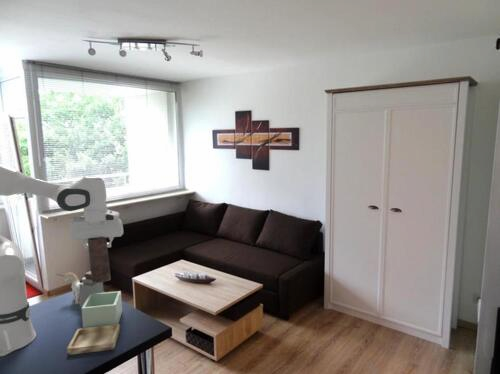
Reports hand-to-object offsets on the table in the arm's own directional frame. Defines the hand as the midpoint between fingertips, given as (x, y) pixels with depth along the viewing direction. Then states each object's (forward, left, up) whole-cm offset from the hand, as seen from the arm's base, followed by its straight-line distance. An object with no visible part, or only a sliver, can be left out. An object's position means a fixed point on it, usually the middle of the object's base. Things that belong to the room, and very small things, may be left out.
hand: (98, 247), depth 139 cm
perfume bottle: (-7, +11, -33) cm, 36 cm away
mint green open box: (0, 0, -33) cm, 33 cm away
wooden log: (0, 0, -15) cm, 15 cm away
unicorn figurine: (-18, +20, -33) cm, 43 cm away
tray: (0, -15, -33) cm, 36 cm away
